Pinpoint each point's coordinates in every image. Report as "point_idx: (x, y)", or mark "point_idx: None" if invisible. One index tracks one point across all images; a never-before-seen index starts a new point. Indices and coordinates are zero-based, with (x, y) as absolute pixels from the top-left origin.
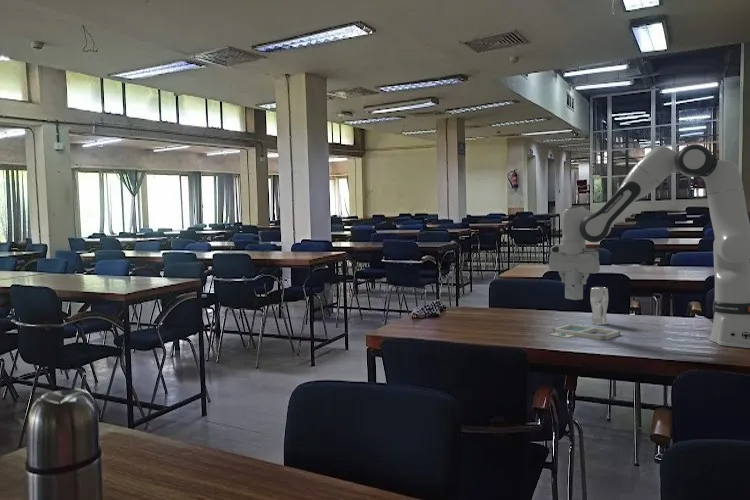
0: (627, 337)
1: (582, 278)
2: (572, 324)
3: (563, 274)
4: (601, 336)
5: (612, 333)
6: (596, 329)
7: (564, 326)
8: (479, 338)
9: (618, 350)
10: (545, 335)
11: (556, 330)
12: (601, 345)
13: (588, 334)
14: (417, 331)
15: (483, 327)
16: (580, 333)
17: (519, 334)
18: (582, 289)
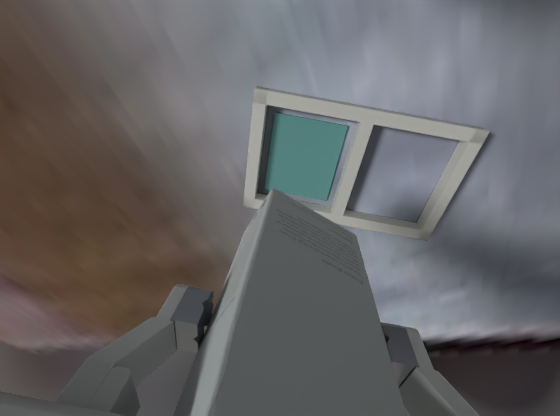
0: (506, 157)
1: (390, 377)
2: (266, 91)
3: (129, 360)
4: (419, 238)
5: (455, 189)
6: (383, 125)
7: (257, 150)
8: (148, 316)
9: (467, 307)
10: None
11: (258, 207)
12: (421, 282)
13: (374, 230)
14: (7, 310)
15: (48, 221)
16: (346, 224)
17: (185, 256)
18: (366, 283)
